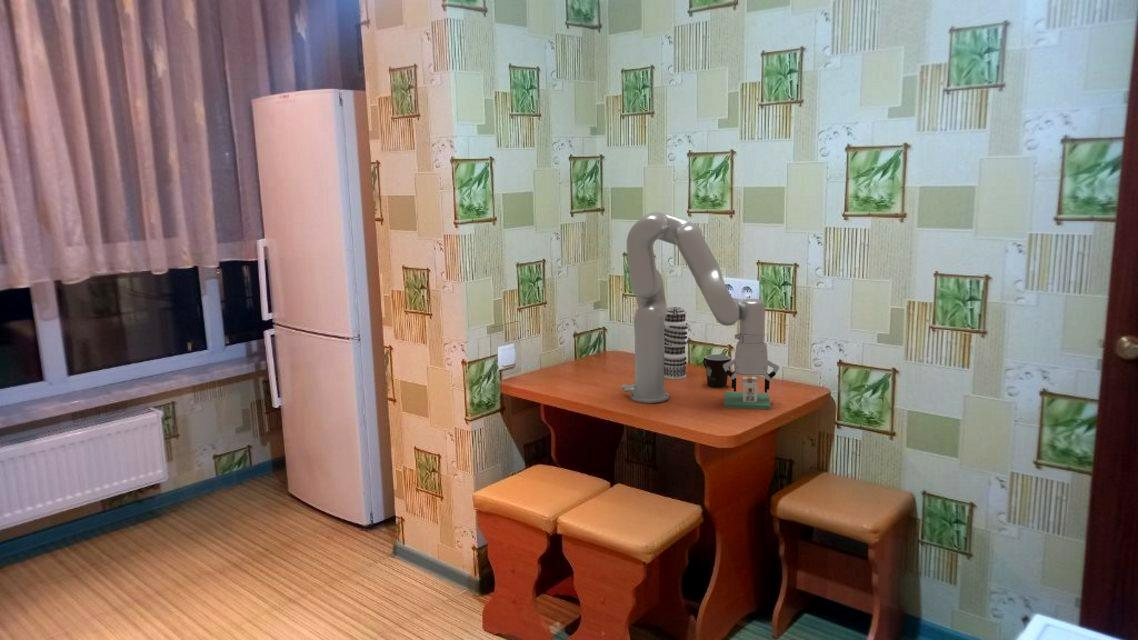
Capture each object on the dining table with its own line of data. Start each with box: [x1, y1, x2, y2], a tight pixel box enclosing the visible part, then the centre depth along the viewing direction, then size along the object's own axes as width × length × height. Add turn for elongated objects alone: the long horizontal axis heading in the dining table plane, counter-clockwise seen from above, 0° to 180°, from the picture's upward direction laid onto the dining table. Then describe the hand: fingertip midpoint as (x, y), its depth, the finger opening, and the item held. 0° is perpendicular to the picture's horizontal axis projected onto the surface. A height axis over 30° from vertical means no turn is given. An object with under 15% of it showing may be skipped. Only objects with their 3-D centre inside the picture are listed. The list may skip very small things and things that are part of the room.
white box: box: [742, 376, 758, 402], centre depth 250 cm, size 4×8×6 cm, turn 168°
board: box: [723, 388, 771, 411], centre depth 250 cm, size 14×14×4 cm
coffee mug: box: [702, 353, 731, 389], centre depth 271 cm, size 12×9×10 cm
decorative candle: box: [664, 306, 689, 380], centre depth 281 cm, size 9×9×25 cm
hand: (750, 391), depth 250 cm, fingers open, 9 cm apart
